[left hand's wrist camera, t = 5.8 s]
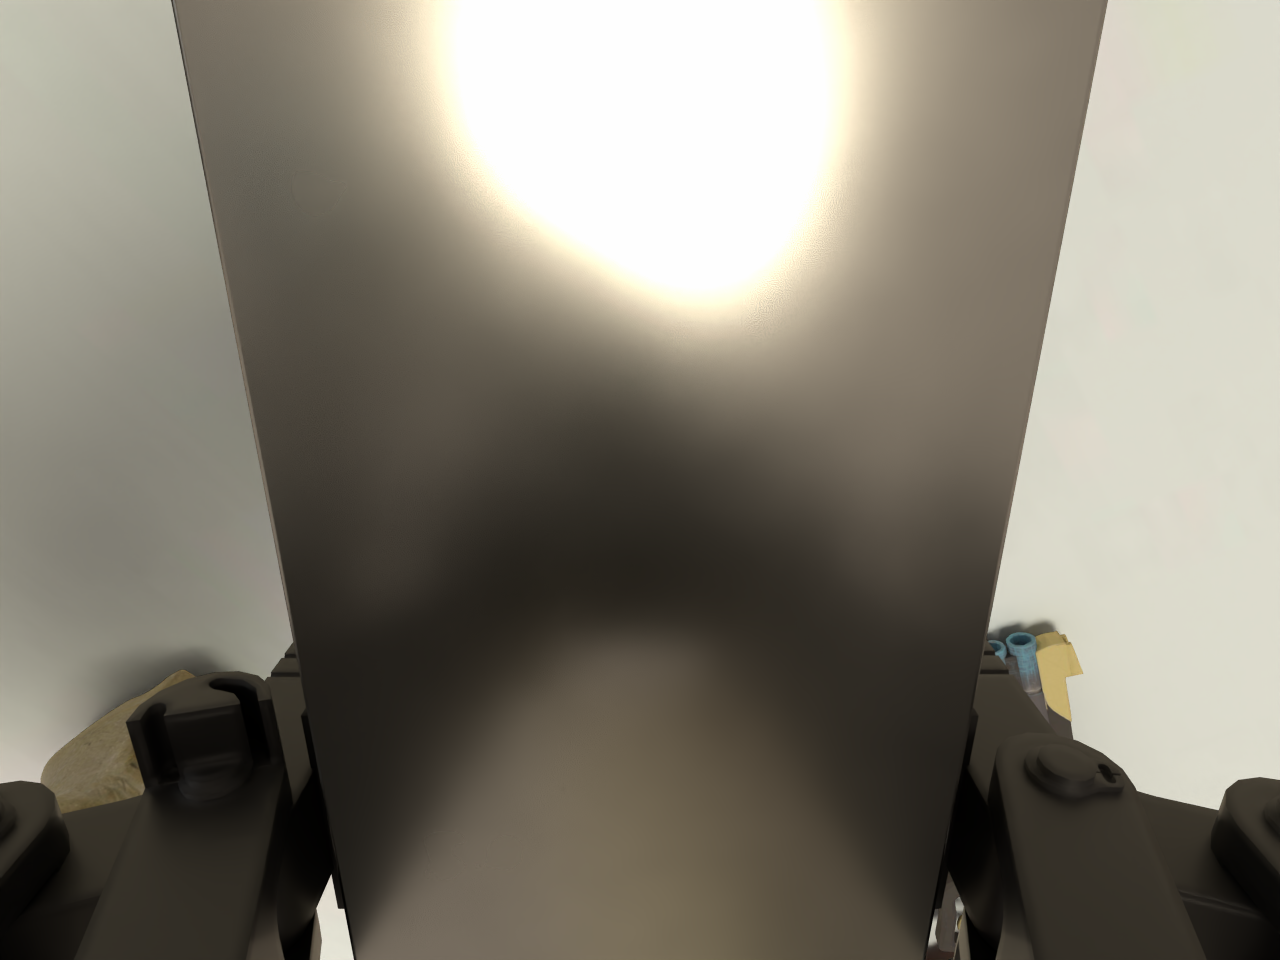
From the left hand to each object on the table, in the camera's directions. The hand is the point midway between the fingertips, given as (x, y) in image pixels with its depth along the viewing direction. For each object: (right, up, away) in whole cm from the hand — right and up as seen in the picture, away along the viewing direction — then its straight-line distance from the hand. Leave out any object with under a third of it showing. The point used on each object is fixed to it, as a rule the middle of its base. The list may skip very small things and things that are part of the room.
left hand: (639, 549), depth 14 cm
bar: (0, +9, -3) cm, 9 cm away
